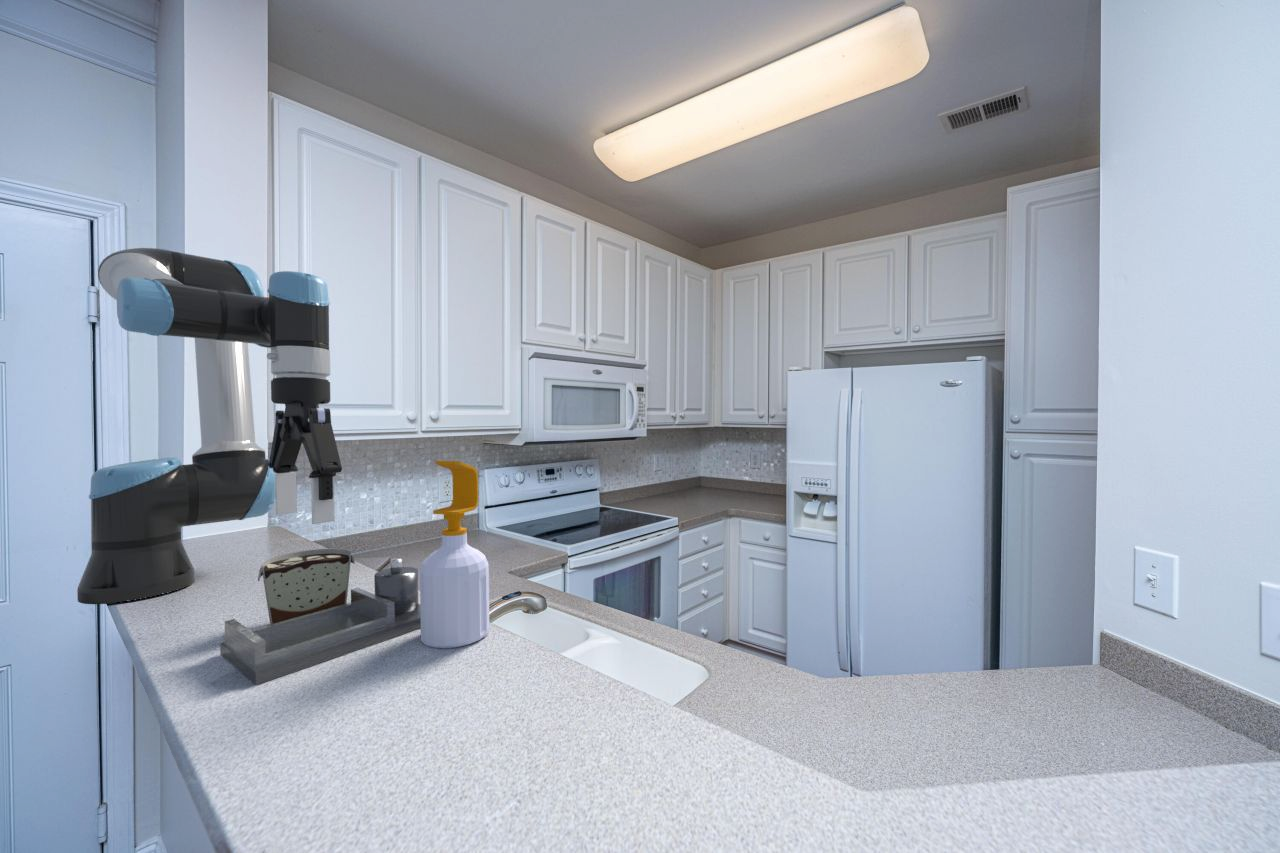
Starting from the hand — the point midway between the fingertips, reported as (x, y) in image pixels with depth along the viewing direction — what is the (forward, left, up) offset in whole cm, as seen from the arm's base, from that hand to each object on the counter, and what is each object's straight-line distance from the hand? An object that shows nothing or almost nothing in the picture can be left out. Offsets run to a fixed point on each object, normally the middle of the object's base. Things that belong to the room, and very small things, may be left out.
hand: (304, 518), depth 79 cm
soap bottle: (+24, +10, -16) cm, 30 cm away
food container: (0, 0, -16) cm, 16 cm away
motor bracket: (+11, 0, -16) cm, 19 cm away
